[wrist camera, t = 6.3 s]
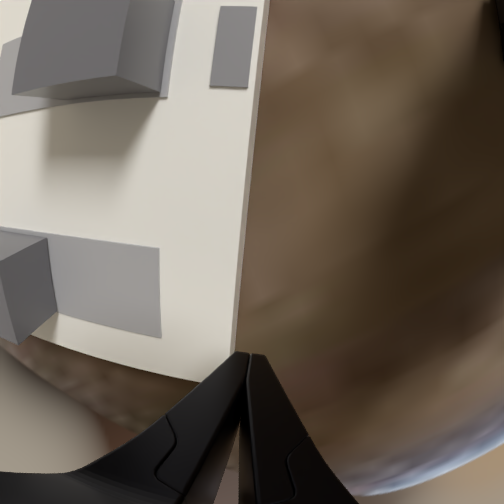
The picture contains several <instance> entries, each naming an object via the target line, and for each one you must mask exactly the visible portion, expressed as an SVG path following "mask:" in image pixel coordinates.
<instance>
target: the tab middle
mask: <svg viewBox="0 0 504 504" xmlns="http://www.w3.org/2000/svg"><path fill="white" fill-rule="evenodd" d="M174 4H175V1H174V0H32V1H31V5H30V8H29V11H28V15H27V18H26V22H25V26H24V30H23V34H22V38H21V42H20V47H19V51H18V56H17V62H16V67H15V73H14V79H13V86H12V94H11V95H17V96H30V97H41V98H51V99H60V100H72V99H79V98H88V97H97V96H107V95H119V94H133V93H155V92H161V85H162V77H163V70H164V62H165V56H166V49H167V43H168V36H169V31H170V25H171V19H172V14H173V9H174Z"/></svg>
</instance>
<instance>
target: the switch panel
mask: <svg viewBox="0 0 504 504" xmlns="http://www.w3.org/2000/svg"><path fill="white" fill-rule="evenodd" d="M31 1H32V0H0V230H1V231H8V232H14V233H20V234H27V235H33V236H40V237H46V238H47V246H48V255H49V263H50V271H51V278H52V284H53V290H54V296H55V301H56V307H57V312H56V313H55V314H54V315H52V316H51V317H50V318H49V319H48V320H47V321H45V322H44V323H43V324H42V325H41V326H40V327H38V328H37V329H36V330H35V331H34V332H33V333H32V334H31V335H33V336H36V337H38V338H41V339H44V340H46V341H49V342H52V343H55V344H57V345H60V346H63V347H66V348H69V349H72V350H75V351H78V352H81V353H84V354H88V355H91V356H94V357H97V358H101V359H104V360H108V361H111V362H115V363H118V364H122V365H126V366H130V367H133V368H137V369H141V370H145V371H150V372H154V373H158V374H162V375H167V376H172V377H176V378H181V379H186V380H191V381H196V382H202V381H203V380H204V379H205V378H206V377H207V376H209V375H210V374H211V373H212V372H213V371H214V370H215V369H216V368H217V367H218V366H220V365H221V364H222V363H223V362H224V361H225V360H226V359H227V358H228V357H229V356H230V355H231V354H233V353H234V350H235V339H236V328H237V317H238V306H239V295H240V285H241V274H242V263H243V253H244V243H245V232H246V222H247V212H248V202H249V192H250V182H251V172H252V162H253V152H254V143H255V133H256V123H257V114H258V104H259V95H260V86H261V76H262V67H263V58H264V49H265V40H266V31H267V22H268V13H269V4H270V0H174V1H175V4H174V9H173V14H172V19H171V25H170V31H169V36H168V43H167V49H166V56H165V62H164V70H163V77H162V85H161V92H155V93H133V94H119V95H107V96H97V97H88V98H79V99H72V100H60V99H51V98H41V97H30V96H17V95H11V94H12V86H13V79H14V73H15V67H16V62H17V56H18V51H19V47H20V42H21V38H22V34H23V30H24V26H25V22H26V18H27V15H28V11H29V8H30V5H31Z"/></svg>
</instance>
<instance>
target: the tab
mask: <svg viewBox="0 0 504 504" xmlns="http://www.w3.org/2000/svg"><path fill="white" fill-rule="evenodd" d="M56 312H57V307H56V301H55V296H54V290H53V284H52V278H51V271H50V263H49V255H48V246H47V238H46V237H40V236H33V235H27V234H20V233H14V232H8V231H1V230H0V337H1V338H4V339H6V340H8V341H10V342H12V343H14V344H17V345H19V344H20V343H22V342H23V341H24V340H25V339H26V338H27V337H28V336H29V335H31V334H32V333H33V332H34V331H35V330H36V329H37V328H38V327H40V326H41V325H42V324H43V323H44V322H45V321H47V320H48V319H49V318H50V317H51V316H52V315H54V314H55V313H56Z"/></svg>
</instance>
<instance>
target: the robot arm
mask: <svg viewBox="0 0 504 504" xmlns="http://www.w3.org/2000/svg"><path fill="white" fill-rule="evenodd" d="M496 4H497V10H498V17H499V24H500V31H501V40H502V52H503V61H504V0H496ZM240 418H241V419H240ZM239 423H240V429H239V503H238V504H359V503H358V502H357V501H356V500H355V499H354V497H353V496H352V495H351V494H350V493H349V491H348V490H347V489H346V488H345V487H344V485H343V484H342V483H341V482H340V480H339V479H338V478H337V477H336V476H335V474H334V473H333V472H332V470H331V469H330V468H329V466H328V465H327V464H326V462H325V461H324V459H323V458H322V456H321V455H320V453H319V451H318V450H317V448H316V447H315V445H314V443H313V441H312V440H311V438H310V437H309V436H308V433H307V431H306V429H305V427H304V426H303V424H302V422H301V420H300V418H299V417H298V415H297V413H296V411H295V409H294V408H293V406H292V404H291V402H290V400H289V399H288V397H287V395H286V393H285V391H284V389H283V388H282V386H281V384H280V382H279V380H278V378H277V377H276V375H275V373H274V371H273V369H272V367H271V365H270V364H269V362H268V360H267V358H266V356H265V355H261V354H250V355H249V353H246V352H239V351H235V352H234V353H233V354H231V355H230V356H229V357H228V358H227V359H226V360H225V361H224V362H223V363H222V364H221V365H220V366H218V367H217V368H216V369H215V370H214V371H213V372H212V373H211V374H210V375H209V376H207V377H206V378H205V379H204V380H203V381H202V382H201V383H200V384H199V385H197V386H196V387H195V388H194V389H193V390H192V391H191V392H189V393H188V394H187V395H186V396H185V397H184V398H183V399H181V400H180V401H179V402H178V403H177V404H176V405H175V406H173V407H172V408H171V409H170V410H169V411H168V412H166V413H165V415H163V416H161V417H160V418H159V419H158V420H157V421H156V422H154V423H153V424H152V425H151V426H149V427H148V428H147V429H145V430H144V431H143V432H141V433H140V434H139V435H137V436H136V437H134V438H132V439H131V440H130V441H128V442H126V443H125V444H123V445H121V446H120V447H118V448H116V449H115V450H113V451H111V452H110V453H108V454H106V455H104V456H103V457H101V458H99V459H97V460H96V461H94V462H92V463H90V464H88V465H87V466H84V467H82V468H80V469H77V470H75V471H71V472H67V473H57V474H41V473H13V472H0V504H213V503H214V500H215V497H216V495H217V492H218V489H219V486H220V483H221V480H222V477H223V474H224V471H225V468H226V465H227V462H228V459H229V456H230V453H231V450H232V447H233V444H234V441H235V438H236V434H237V431H238V428H239Z"/></svg>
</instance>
